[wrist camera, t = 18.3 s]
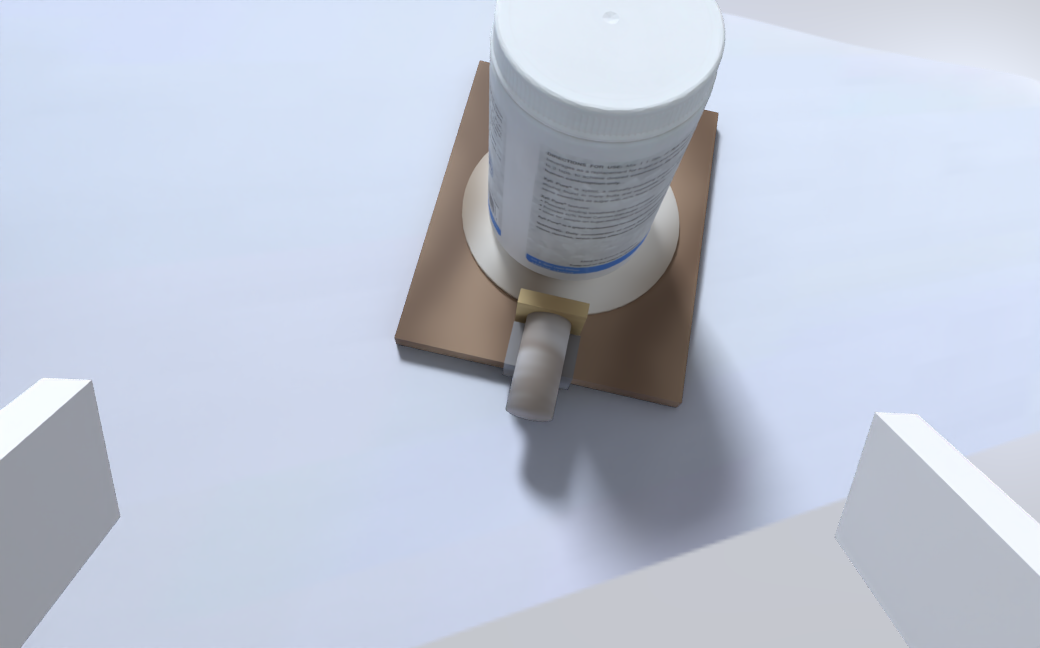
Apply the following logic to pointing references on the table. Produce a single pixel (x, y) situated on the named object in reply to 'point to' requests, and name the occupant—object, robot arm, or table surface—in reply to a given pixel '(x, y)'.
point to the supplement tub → (592, 123)
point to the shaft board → (558, 288)
